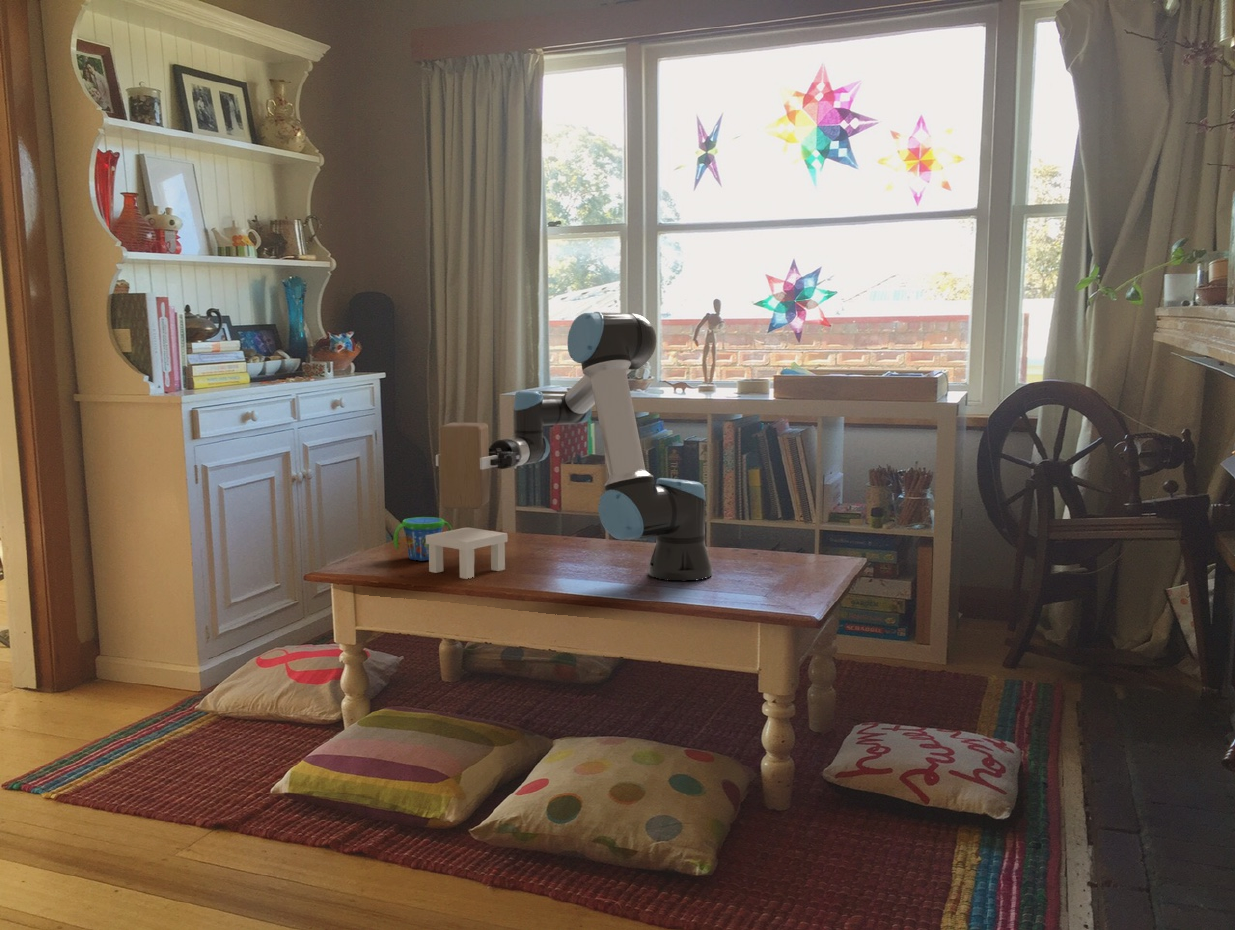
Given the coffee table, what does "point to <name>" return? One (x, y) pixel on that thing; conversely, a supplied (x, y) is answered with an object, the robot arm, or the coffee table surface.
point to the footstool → (466, 548)
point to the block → (464, 465)
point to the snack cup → (419, 535)
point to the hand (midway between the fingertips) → (458, 462)
